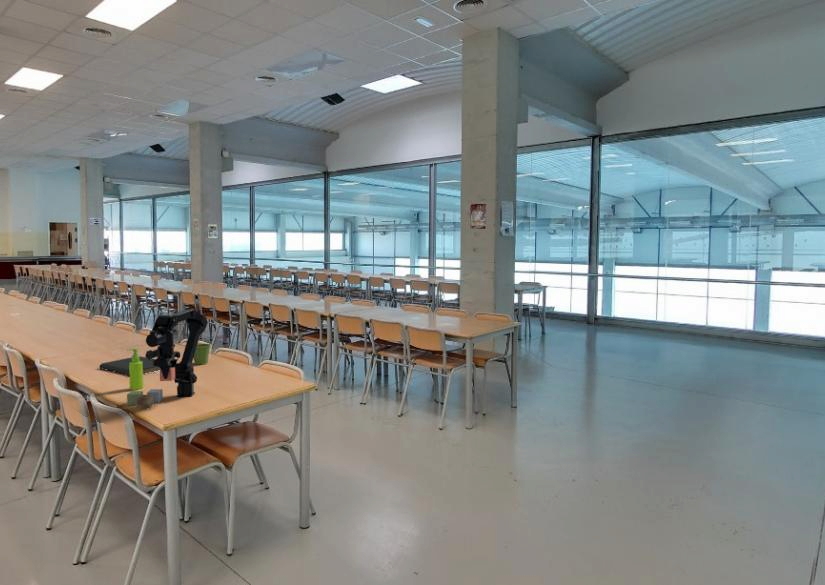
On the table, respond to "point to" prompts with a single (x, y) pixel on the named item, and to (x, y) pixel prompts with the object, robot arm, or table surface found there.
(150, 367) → the closed laptop
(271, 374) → the table surface
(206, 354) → the plant pot
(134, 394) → the olive cube
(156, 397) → the slate cube
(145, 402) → the walnut cube
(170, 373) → the red cube
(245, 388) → the table surface
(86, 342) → the table surface
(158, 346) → the robot arm
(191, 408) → the table surface
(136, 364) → the soap dispenser
